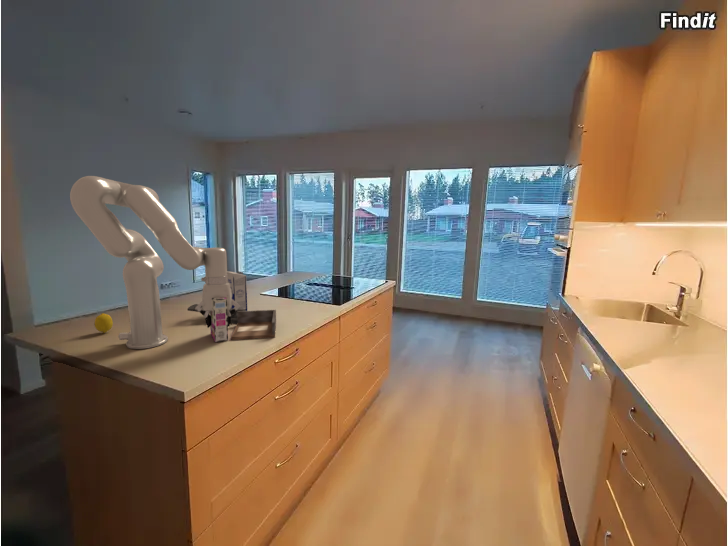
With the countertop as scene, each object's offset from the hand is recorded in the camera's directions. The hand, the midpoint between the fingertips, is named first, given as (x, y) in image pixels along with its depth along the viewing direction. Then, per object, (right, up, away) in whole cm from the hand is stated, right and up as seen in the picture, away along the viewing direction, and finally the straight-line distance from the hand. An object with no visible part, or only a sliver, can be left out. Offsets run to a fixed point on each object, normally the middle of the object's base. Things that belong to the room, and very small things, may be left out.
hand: (218, 325), depth 125 cm
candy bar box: (0, -5, +1) cm, 5 cm away
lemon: (-46, -3, +2) cm, 46 cm away
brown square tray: (+11, -4, +9) cm, 15 cm away
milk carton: (-7, +1, +37) cm, 37 cm away
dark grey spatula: (-9, -1, +21) cm, 23 cm away
